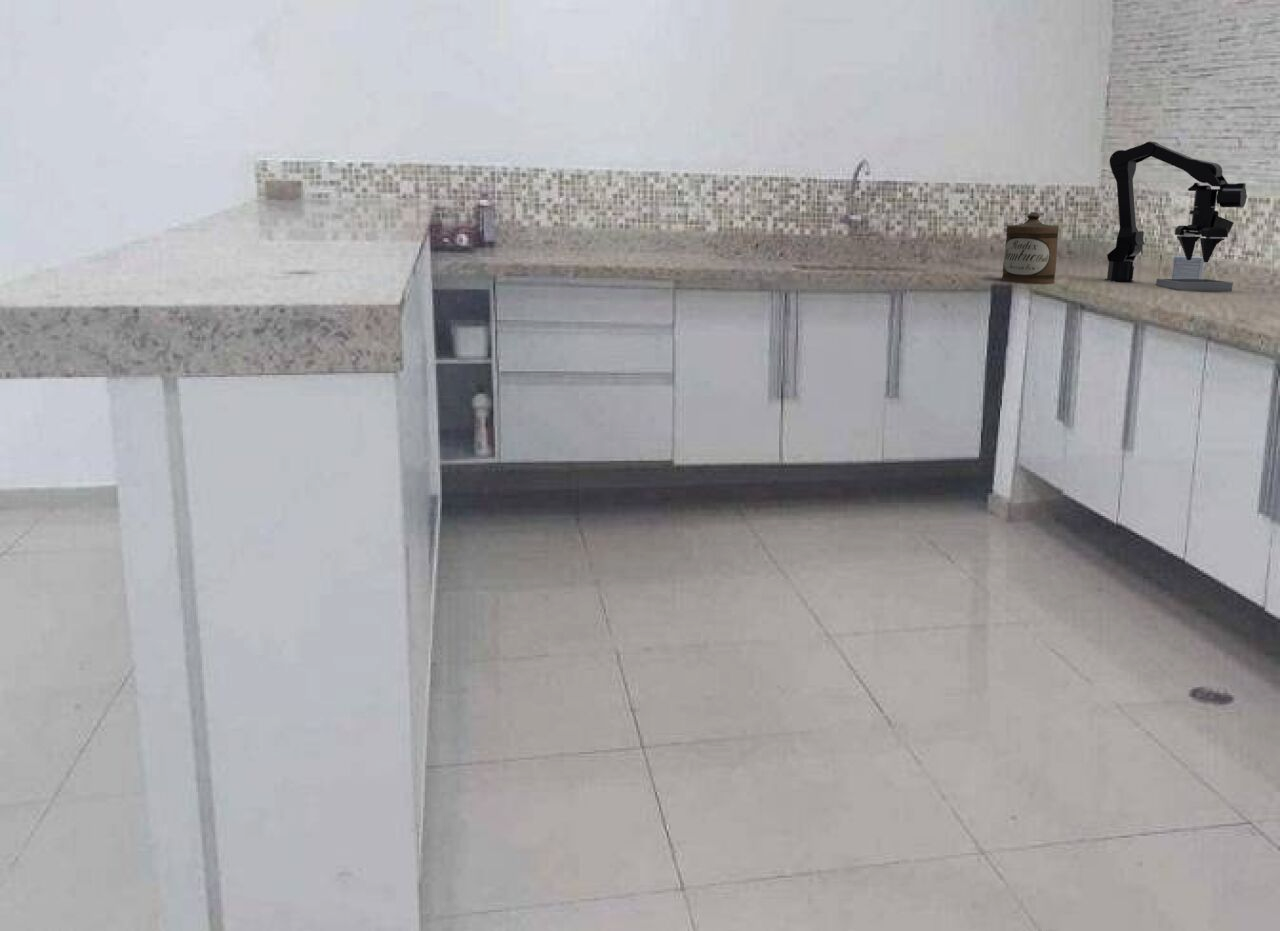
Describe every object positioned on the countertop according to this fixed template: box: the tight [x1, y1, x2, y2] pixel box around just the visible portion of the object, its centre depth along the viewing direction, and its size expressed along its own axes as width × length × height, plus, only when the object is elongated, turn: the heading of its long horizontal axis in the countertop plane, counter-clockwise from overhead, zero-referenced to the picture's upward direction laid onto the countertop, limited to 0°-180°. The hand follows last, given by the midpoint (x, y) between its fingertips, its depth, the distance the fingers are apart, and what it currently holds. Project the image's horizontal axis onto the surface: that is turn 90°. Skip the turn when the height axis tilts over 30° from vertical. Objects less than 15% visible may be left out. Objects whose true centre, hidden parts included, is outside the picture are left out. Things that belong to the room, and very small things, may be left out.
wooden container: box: [1001, 211, 1060, 285], centre depth 321 cm, size 15×15×22 cm
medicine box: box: [1171, 255, 1205, 279], centre depth 338 cm, size 8×4×9 cm, turn 54°
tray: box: [1155, 278, 1234, 292], centre depth 322 cm, size 16×13×2 cm
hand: (1197, 261), depth 320 cm, fingers open, 9 cm apart
